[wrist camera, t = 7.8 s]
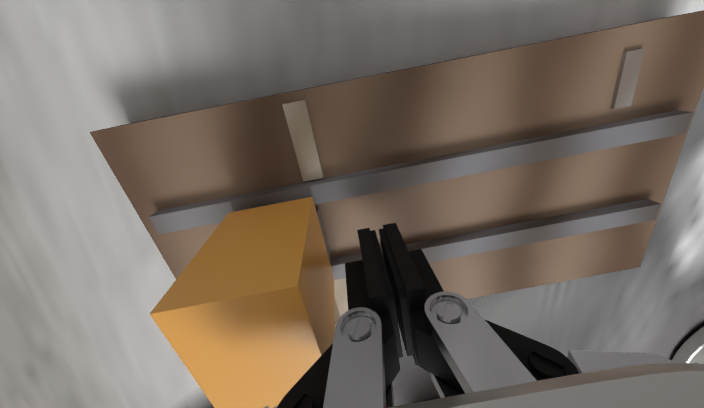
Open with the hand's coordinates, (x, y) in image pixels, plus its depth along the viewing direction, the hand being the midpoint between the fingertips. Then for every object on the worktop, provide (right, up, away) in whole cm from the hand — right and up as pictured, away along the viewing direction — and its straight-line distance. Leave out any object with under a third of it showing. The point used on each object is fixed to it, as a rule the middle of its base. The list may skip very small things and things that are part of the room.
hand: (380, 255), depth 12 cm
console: (+2, +3, +5) cm, 6 cm away
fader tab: (-5, 0, +3) cm, 5 cm away
